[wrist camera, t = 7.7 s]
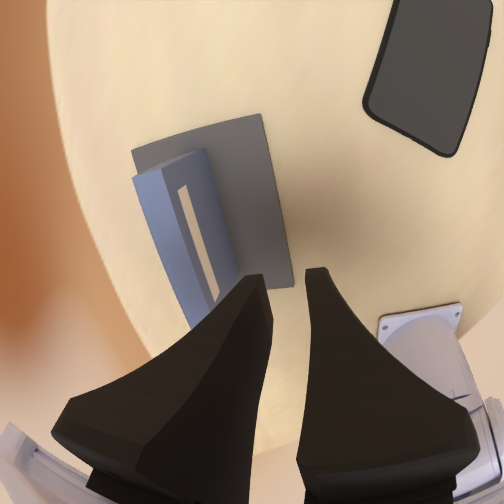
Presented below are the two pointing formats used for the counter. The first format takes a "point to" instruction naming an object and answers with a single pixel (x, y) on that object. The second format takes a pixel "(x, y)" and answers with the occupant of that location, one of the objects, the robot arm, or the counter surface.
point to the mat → (237, 192)
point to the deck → (189, 231)
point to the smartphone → (430, 70)
